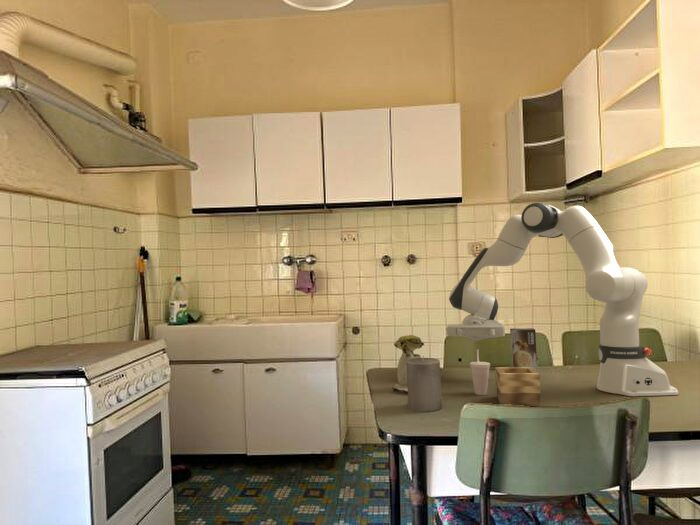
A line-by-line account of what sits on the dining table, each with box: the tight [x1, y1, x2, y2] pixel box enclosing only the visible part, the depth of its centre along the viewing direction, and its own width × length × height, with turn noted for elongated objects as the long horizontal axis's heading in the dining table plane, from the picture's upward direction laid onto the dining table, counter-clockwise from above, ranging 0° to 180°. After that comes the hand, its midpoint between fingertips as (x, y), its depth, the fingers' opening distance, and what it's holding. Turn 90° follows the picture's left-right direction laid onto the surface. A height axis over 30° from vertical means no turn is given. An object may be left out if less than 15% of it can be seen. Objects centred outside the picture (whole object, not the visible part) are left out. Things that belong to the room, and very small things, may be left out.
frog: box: [392, 334, 425, 392], centre depth 172 cm, size 12×13×18 cm
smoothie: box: [469, 349, 491, 396], centre depth 165 cm, size 6×6×14 cm
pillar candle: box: [407, 355, 443, 413], centre depth 150 cm, size 10×10×15 cm
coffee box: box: [509, 327, 538, 370], centre depth 202 cm, size 9×6×16 cm
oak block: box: [494, 366, 541, 394], centre depth 154 cm, size 11×11×6 cm
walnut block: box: [495, 385, 541, 407], centre depth 154 cm, size 11×11×4 cm
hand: (476, 333), depth 178 cm, fingers open, 8 cm apart
